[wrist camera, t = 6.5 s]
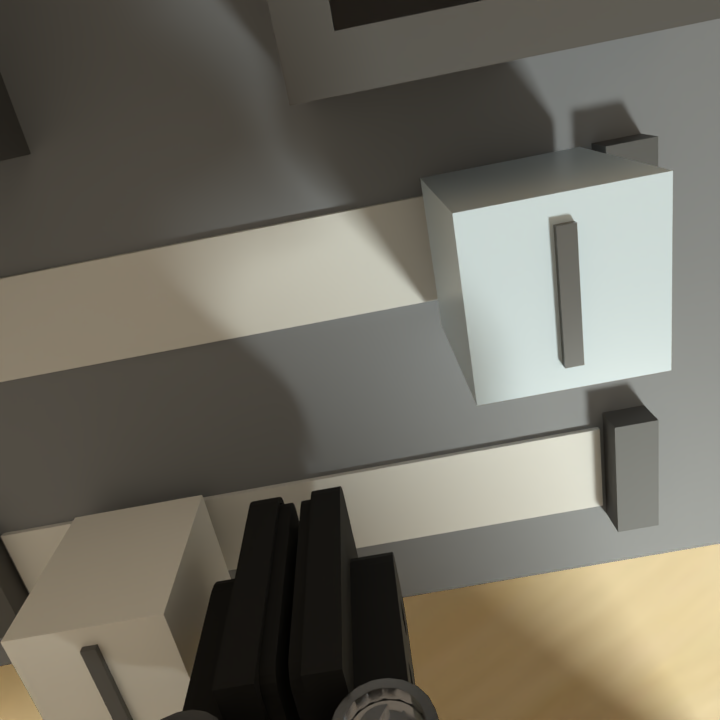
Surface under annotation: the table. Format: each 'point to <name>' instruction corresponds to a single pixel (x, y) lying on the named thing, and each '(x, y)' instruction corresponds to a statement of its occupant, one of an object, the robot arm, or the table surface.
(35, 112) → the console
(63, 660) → the slider white
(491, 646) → the table surface
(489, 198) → the slider blue
